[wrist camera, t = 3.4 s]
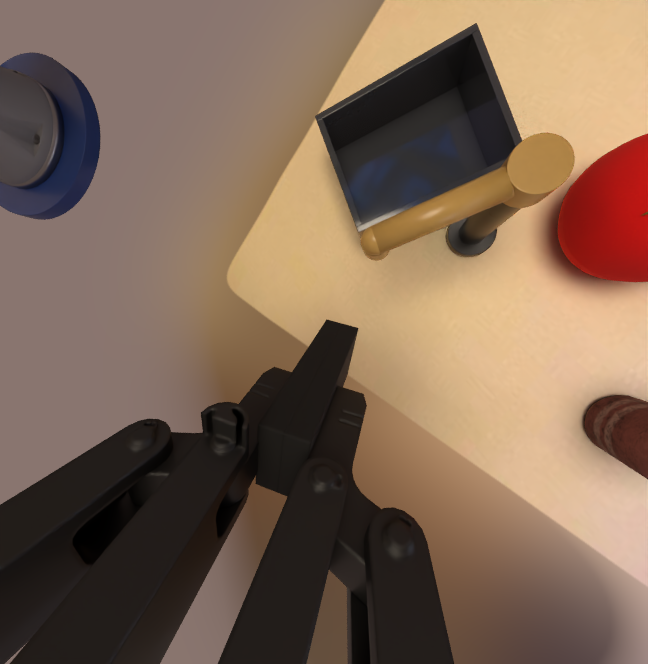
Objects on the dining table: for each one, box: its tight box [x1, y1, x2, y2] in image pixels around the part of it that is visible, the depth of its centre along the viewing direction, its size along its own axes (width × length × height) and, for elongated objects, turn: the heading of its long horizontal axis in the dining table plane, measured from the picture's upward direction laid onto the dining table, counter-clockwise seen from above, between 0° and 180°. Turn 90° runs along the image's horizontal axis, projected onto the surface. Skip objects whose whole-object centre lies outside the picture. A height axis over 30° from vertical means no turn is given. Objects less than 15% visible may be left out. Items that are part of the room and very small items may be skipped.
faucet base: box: [446, 203, 521, 257], centre depth 25 cm, size 5×5×13 cm
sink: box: [315, 23, 522, 238], centre depth 29 cm, size 12×15×7 cm
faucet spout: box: [361, 133, 574, 260], centre depth 19 cm, size 13×3×3 cm, turn 111°
